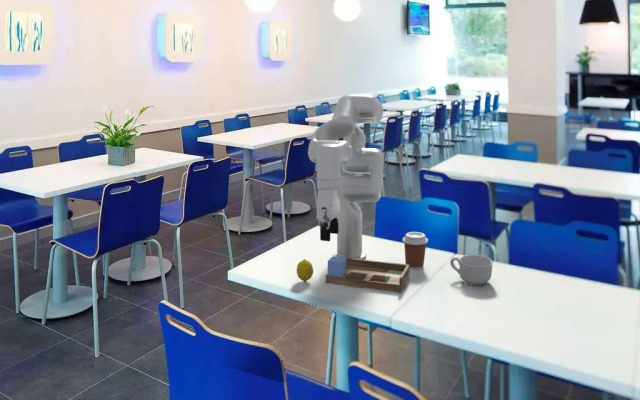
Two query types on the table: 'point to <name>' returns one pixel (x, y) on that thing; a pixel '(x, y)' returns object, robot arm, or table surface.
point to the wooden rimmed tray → (373, 275)
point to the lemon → (304, 270)
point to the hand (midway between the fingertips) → (329, 236)
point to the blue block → (336, 266)
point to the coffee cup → (415, 249)
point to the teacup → (473, 268)
